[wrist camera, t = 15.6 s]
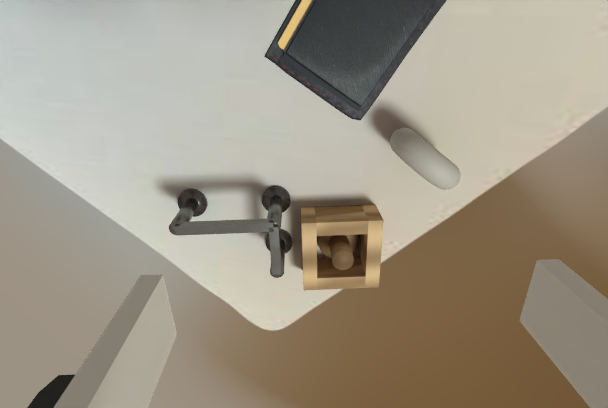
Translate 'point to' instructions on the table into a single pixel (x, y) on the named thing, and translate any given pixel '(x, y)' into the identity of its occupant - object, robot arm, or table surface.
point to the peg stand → (339, 249)
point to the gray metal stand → (239, 223)
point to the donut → (424, 158)
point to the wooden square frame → (341, 223)
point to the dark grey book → (349, 46)
